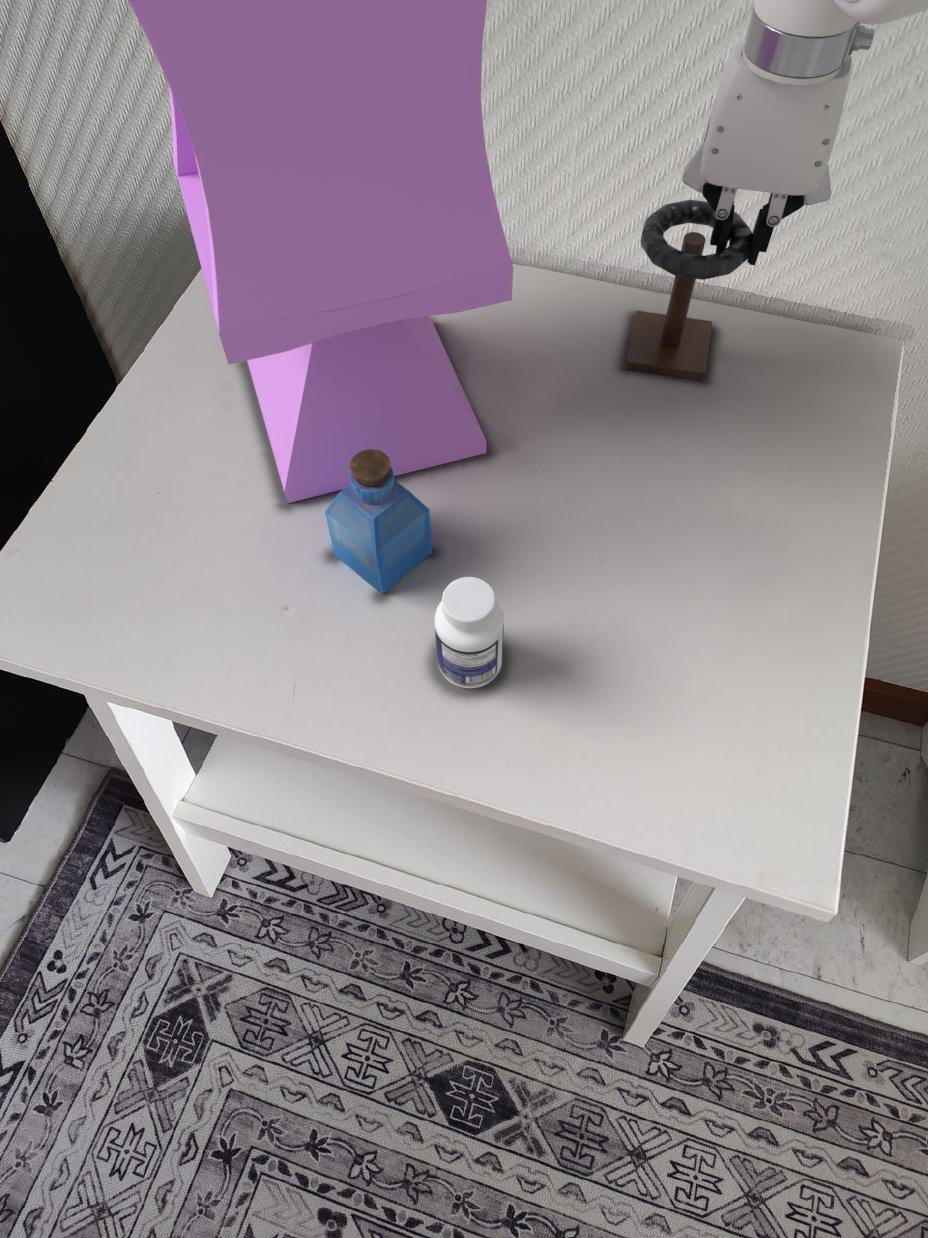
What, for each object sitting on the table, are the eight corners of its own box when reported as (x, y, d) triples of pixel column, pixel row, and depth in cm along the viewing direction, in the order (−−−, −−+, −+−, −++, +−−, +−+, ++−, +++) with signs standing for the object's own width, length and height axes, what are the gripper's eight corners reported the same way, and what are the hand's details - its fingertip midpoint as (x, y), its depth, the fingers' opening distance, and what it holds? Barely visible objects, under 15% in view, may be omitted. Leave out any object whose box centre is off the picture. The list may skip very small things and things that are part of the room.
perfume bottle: (432, 552, 79) (426, 462, 69) (382, 594, 77) (368, 508, 67) (384, 515, 82) (371, 422, 71) (334, 555, 79) (314, 465, 69)
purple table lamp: (232, 357, 93) (61, -210, 54) (436, 311, 96) (410, -253, 58) (275, 518, 82) (99, -53, 43) (504, 459, 85) (530, -117, 47)
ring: (752, 222, 84) (757, 203, 83) (744, 290, 79) (750, 271, 78) (647, 209, 86) (650, 189, 84) (633, 275, 81) (636, 255, 79)
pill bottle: (452, 624, 75) (449, 558, 67) (511, 645, 74) (516, 581, 66) (427, 677, 73) (420, 615, 64) (487, 699, 72) (489, 639, 63)
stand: (710, 328, 94) (741, 217, 83) (703, 380, 90) (735, 271, 79) (635, 317, 95) (656, 206, 84) (625, 368, 91) (646, 259, 80)
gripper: (907, 25, 67) (825, 240, 83) (694, 3, 69) (653, 217, 85) (910, 77, 63) (823, 291, 79) (684, 53, 65) (644, 267, 81)
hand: (736, 251), depth 82 cm, fingers closed on ring, 2 cm apart
